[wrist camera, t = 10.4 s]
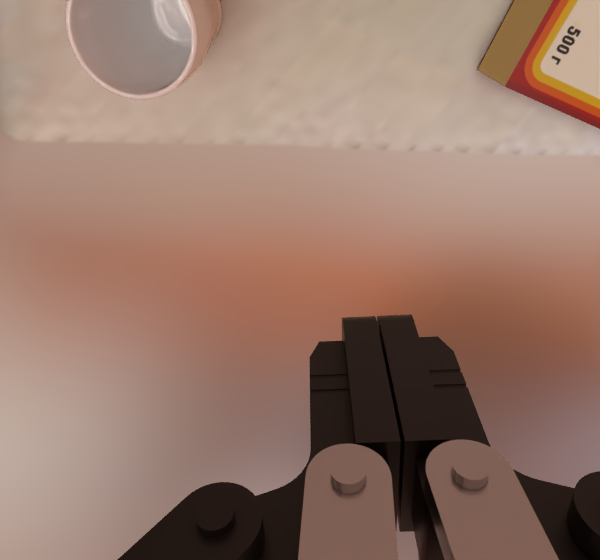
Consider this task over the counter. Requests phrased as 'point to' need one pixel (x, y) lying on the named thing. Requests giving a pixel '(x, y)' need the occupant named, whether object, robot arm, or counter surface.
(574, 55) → the baking soda box
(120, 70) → the pinkish beige cup
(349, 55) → the counter surface
